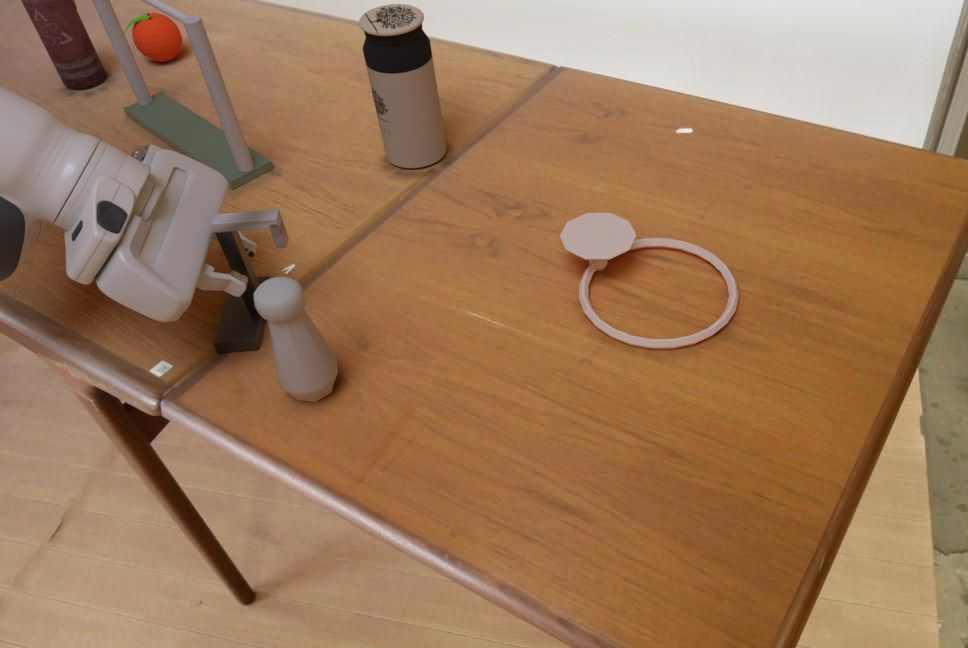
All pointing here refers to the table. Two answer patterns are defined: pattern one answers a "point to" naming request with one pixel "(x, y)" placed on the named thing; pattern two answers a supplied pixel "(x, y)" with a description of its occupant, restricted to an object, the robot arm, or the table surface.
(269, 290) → the salt shaker
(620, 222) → the hand towel holder
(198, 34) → the rack
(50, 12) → the can
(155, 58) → the clementine
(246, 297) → the hanger
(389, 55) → the travel mug
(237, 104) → the table surface
